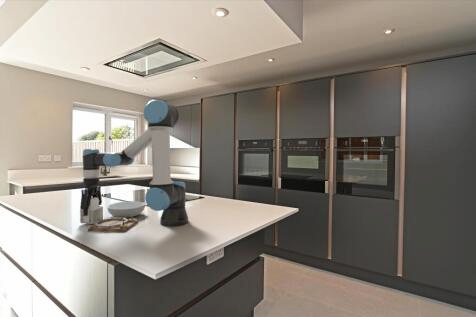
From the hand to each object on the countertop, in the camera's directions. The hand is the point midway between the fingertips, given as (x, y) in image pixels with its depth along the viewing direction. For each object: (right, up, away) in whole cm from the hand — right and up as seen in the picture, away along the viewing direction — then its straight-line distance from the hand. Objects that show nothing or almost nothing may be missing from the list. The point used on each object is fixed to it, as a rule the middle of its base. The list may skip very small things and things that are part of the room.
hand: (91, 219), depth 131 cm
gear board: (+15, -3, -5) cm, 16 cm away
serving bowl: (+11, -2, +16) cm, 20 cm away
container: (0, -2, 0) cm, 2 cm away
